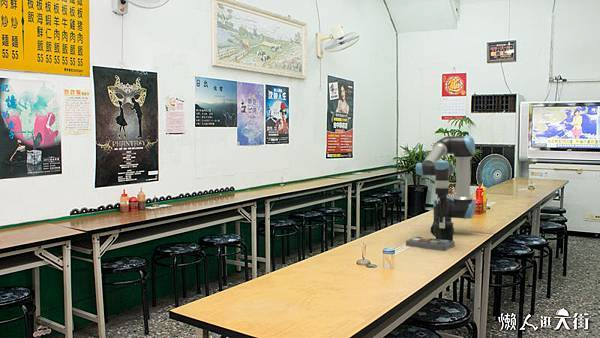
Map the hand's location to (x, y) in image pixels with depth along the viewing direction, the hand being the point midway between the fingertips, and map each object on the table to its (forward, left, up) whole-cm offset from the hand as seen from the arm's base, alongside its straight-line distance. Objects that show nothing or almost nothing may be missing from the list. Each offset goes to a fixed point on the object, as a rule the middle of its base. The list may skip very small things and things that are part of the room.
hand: (442, 227), depth 301 cm
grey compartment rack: (0, -8, -13) cm, 15 cm away
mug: (-18, -9, -13) cm, 24 cm away
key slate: (0, +1, -10) cm, 10 cm away
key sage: (0, -5, -11) cm, 12 cm away
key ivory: (0, -17, -11) cm, 20 cm away
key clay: (0, -11, -10) cm, 15 cm away
